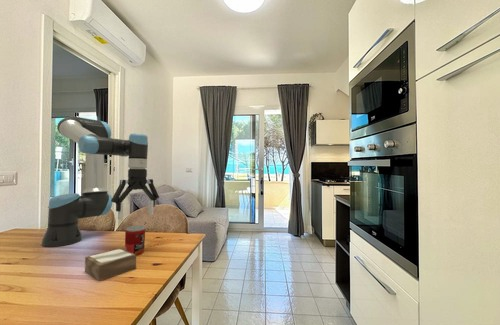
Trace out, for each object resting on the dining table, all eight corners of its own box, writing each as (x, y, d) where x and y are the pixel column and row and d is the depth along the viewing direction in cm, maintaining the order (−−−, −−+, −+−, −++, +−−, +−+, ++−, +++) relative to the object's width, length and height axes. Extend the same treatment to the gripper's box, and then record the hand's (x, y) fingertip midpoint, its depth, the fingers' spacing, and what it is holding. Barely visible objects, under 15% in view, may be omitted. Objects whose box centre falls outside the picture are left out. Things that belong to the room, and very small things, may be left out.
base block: (84, 271, 80) (85, 256, 81) (120, 260, 90) (120, 247, 90) (99, 281, 73) (100, 265, 74) (135, 268, 83) (136, 254, 83)
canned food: (136, 256, 94) (137, 230, 95) (120, 255, 96) (121, 229, 96) (148, 250, 102) (149, 226, 102) (132, 249, 104) (133, 225, 104)
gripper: (111, 167, 88) (109, 222, 87) (167, 169, 108) (166, 213, 107) (103, 168, 92) (101, 220, 91) (158, 169, 113) (157, 211, 112)
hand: (136, 216), depth 99 cm, fingers open, 13 cm apart
